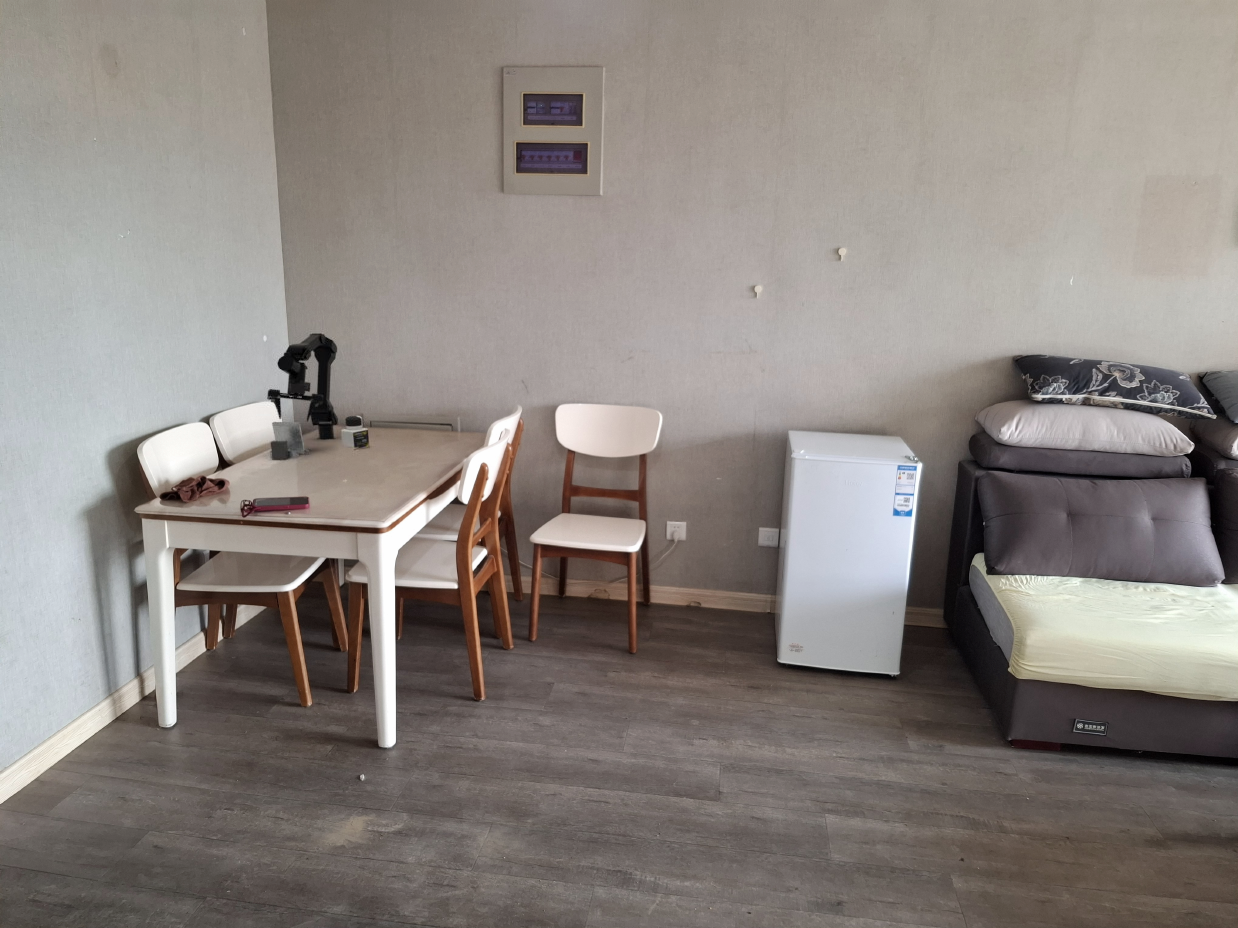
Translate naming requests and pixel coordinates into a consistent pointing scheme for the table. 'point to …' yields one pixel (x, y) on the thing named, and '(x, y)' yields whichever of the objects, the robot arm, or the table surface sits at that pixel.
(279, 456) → the heat sink
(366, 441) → the medicine bottle
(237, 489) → the table surface
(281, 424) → the gray rectangular panel
